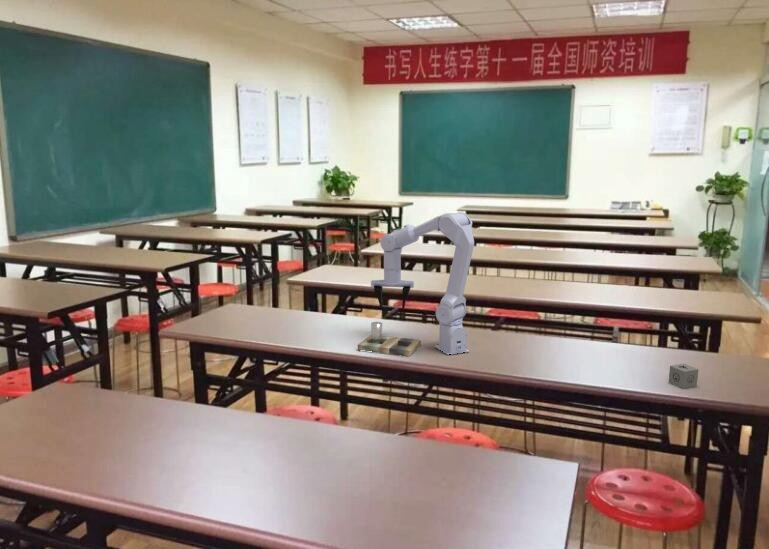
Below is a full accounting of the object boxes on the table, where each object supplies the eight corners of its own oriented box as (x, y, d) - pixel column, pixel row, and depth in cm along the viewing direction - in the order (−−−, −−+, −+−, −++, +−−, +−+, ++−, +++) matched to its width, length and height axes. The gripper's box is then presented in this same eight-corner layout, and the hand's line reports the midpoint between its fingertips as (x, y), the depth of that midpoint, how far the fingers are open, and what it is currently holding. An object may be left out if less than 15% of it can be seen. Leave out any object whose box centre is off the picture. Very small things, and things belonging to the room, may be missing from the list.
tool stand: (420, 345, 207) (420, 339, 206) (409, 356, 196) (409, 350, 195) (371, 340, 213) (371, 334, 212) (357, 350, 202) (357, 344, 201)
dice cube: (682, 380, 175) (683, 363, 174) (696, 386, 171) (698, 369, 170) (668, 382, 174) (670, 365, 173) (682, 389, 169) (684, 371, 168)
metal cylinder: (383, 347, 205) (383, 324, 203) (373, 348, 203) (373, 325, 202) (379, 344, 208) (379, 321, 206) (369, 345, 207) (369, 322, 205)
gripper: (369, 270, 209) (369, 309, 211) (412, 271, 207) (412, 311, 210) (372, 266, 216) (372, 304, 218) (414, 267, 214) (414, 305, 217)
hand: (392, 307), depth 215 cm, fingers open, 7 cm apart
